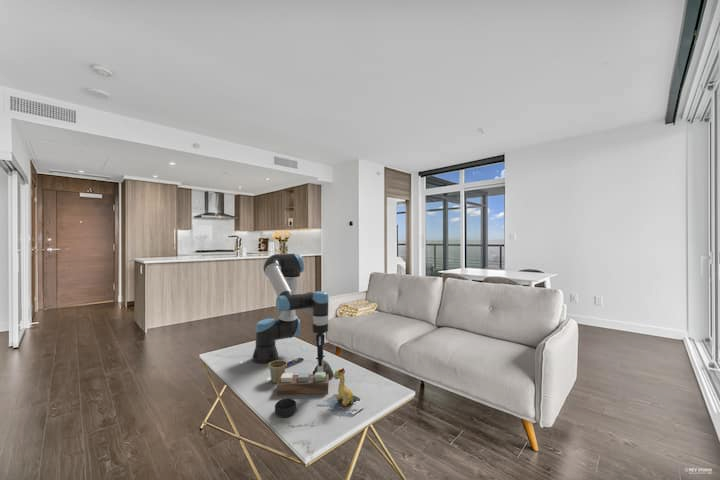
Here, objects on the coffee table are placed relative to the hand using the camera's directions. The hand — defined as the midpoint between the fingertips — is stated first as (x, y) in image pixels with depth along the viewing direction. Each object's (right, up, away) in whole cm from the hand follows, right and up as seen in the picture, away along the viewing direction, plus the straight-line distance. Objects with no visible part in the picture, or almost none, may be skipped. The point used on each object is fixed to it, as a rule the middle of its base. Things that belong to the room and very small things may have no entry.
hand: (320, 371), depth 151 cm
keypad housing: (-8, -8, -1) cm, 12 cm away
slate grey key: (-8, -4, -1) cm, 9 cm away
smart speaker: (-12, -9, -20) cm, 25 cm away
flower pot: (-23, -9, +9) cm, 26 cm away
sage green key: (0, -4, 0) cm, 4 cm away
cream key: (-16, -4, -1) cm, 16 cm away
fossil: (-1, -9, +13) cm, 16 cm away
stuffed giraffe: (+12, -9, -14) cm, 21 cm away
